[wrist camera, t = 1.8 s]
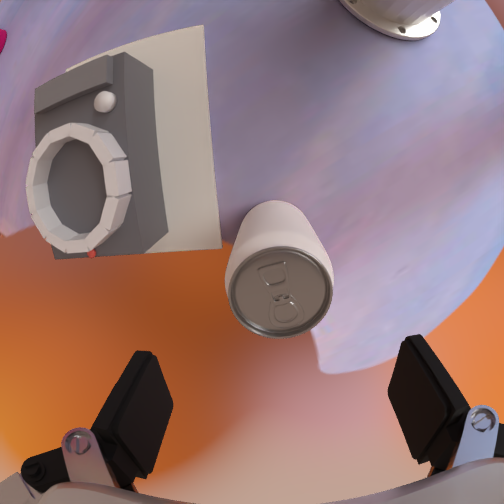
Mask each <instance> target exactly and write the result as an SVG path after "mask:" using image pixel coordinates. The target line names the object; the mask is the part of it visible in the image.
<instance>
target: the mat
mask: <svg viewBox="0 0 504 504" xmlns="http://www.w3.org/2000/svg"><path fill="white" fill-rule="evenodd" d="M122 52H126V53H128V54H129V55H131V56H133V57H134V58H136V59H137V60H139V61H141V62H142V63H144V64H145V65H147V66H148V67H150V68H151V69H153V80H154V102H155V118H156V131H157V143H158V154H159V163H160V172H161V181H162V189H163V196H164V204H165V211H166V218H167V224H168V231H169V232H168V233H167V234H166V235H165V236H163V237H162V238H161V239H160V240H159V241H158V242H157V243H155V244H154V245H153V246H152V247H151V248H150V249H149V250H147V251H146V252H145V253H158V252H175V251H191V250H208V249H222V247H223V246H222V237H221V228H220V219H219V210H218V200H217V191H216V181H215V170H214V160H213V149H212V137H211V126H210V113H209V100H208V86H207V72H206V55H205V37H204V25H198V26H193V27H188V28H183V29H179V30H174V31H170V32H166V33H162V34H158V35H155V36H151V37H148V38H144V39H141V40H138V41H135V42H131V43H128V44H125V45H123V46H120V47H117V48H114V49H112V50H109V51H106V52H104V53H101V54H99V55H96V56H94V57H92V58H89V59H87V60H85V61H83V62H80V63H78V64H76V65H74V66H72V67H70V68H68V69H66V72H68V71H70V70H72V69H74V68H76V67H78V66H80V65H83V64H85V63H87V62H89V61H92V60H94V59H97V58H99V57H102V56H104V55H109V56H113V55H116V54H119V53H122Z"/></svg>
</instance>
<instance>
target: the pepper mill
mask: <svg viewBox="0 0 504 504" xmlns="http://www.w3.org/2000/svg"><path fill="white" fill-rule="evenodd" d="M6 38H7V32H6V31H5V30H2V29H0V53H1V51H2V49H3V47H4V45H5V42H6Z"/></svg>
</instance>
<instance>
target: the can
mask: <svg viewBox="0 0 504 504" xmlns="http://www.w3.org/2000/svg"><path fill="white" fill-rule="evenodd" d="M333 283H334V274H333V269H332V265H331V262H330V259H329V257H328V255H327V253H326V251H325V249H324V247H323V245H322V244H321V242H320V240H319V238H318V237H317V235H316V233H315V232H314V230H313V228H312V227H311V225H310V223H309V222H308V220H307V218H306V217H305V216H304V214H303V213H302V212H301V211H300V210H299V209H298V208H297V207H295V206H294V205H292V204H290V203H287V202H284V201H278V200H272V201H266V202H263V203H261V204H258V205H257V206H255V207H254V208H252V209H251V210H250V211H249V212H248V213H247V215H246V216H245V218H244V220H243V222H242V224H241V226H240V229H239V232H238V235H237V237H236V240H235V243H234V246H233V249H232V252H231V255H230V258H229V261H228V264H227V268H226V273H225V289H226V293H227V296H228V300H229V304H230V308H231V310H232V312H233V314H234V316H235V317H236V319H237V320H238V321H239V322H240V323H241V324H242V325H243V326H244V327H245V328H246V329H248V330H250V331H251V332H253V333H255V334H257V335H260V336H263V337H267V338H274V339H284V338H291V337H295V336H298V335H301V334H303V333H305V332H307V331H309V330H311V329H312V328H313V327H315V326H316V325H317V324H318V323H319V322H320V321H321V320H322V319H323V318H324V316H325V315H326V313H327V311H328V309H329V307H330V304H331V301H332V295H333Z"/></svg>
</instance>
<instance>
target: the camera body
mask: <svg viewBox="0 0 504 504" xmlns="http://www.w3.org/2000/svg"><path fill="white" fill-rule="evenodd" d="M34 114H35V141H36V149H35V150H34V152H33V153H32V155H33V157H31V159H30V163H29V168H28V173H27V178H26V185H28V186H27V187H26V194H27V201H28V207H29V212H30V214H32V213H33V214H32V216H31V218H32V220H33V221H34V223H35V225H36V227H37V228H38V230H39V231H40V233H41V235H42V236H43V238H44V239H45V238H46V241H47V242H48V243H50V244H51V246H52V250H53V253H54V257H55V259H69V258H84V257H90V258H93V257H97V256H98V257H99V256H115V255H130V254H144V253H145V252H146V251H147V250H149V249H150V248H151V247H152V246H153V245H154V244H155V243H157V242H158V241H159V240H160V239H161V238H162V237H163V236H165V235H166V234H167V233H168V232H169V231H168V224H167V218H166V211H165V204H164V196H163V189H162V181H161V172H160V163H159V154H158V143H157V131H156V118H155V102H154V80H153V69H151V68H150V67H148V66H147V65H145V64H144V63H142V62H141V61H139V60H137V59H136V58H134V57H133V56H131V55H129V54H128V53H126V52H122V53H119V54H116V55H113V56H109V55H104V56H102V57H99V58H97V59H94V60H92V61H89V62H87V63H85V64H83V65H80V66H78V67H76V68H74V69H72V70H70V71H68V72H66V73H64V74H62V75H60V76H58V77H56V78H54V79H52V80H50V81H48V82H46V83H45V84H43V85H41V86H39V87H38V88H36V89H35V100H34Z"/></svg>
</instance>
